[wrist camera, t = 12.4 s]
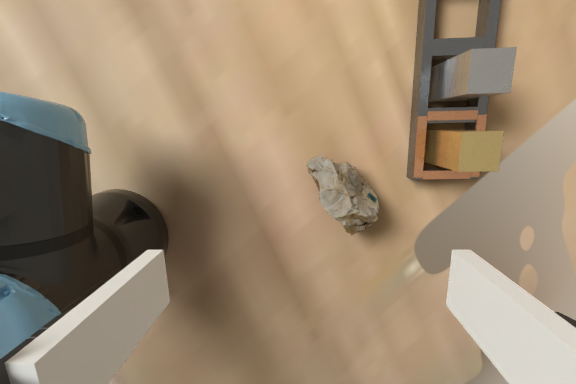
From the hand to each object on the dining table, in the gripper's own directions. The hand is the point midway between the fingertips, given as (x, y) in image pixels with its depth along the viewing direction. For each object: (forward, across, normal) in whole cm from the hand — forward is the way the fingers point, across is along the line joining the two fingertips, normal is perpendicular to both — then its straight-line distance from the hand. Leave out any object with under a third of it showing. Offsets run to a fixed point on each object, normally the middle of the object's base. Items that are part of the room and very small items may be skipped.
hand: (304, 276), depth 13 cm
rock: (+32, +6, -2) cm, 33 cm away
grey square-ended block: (+32, +20, +12) cm, 39 cm away
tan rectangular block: (+32, +20, +4) cm, 38 cm away
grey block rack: (+32, +20, +12) cm, 39 cm away
